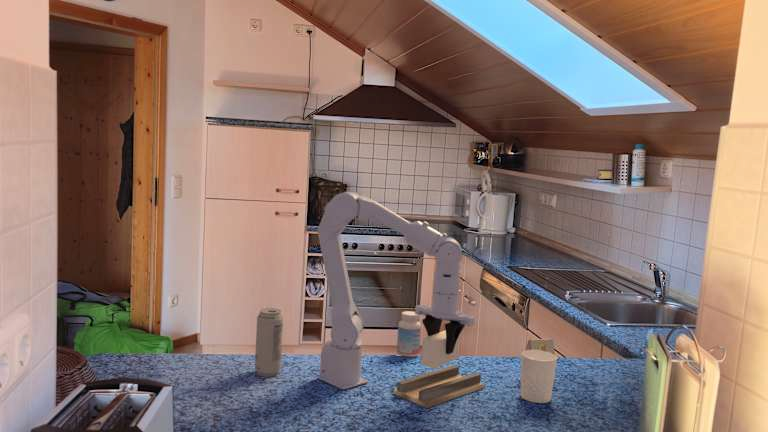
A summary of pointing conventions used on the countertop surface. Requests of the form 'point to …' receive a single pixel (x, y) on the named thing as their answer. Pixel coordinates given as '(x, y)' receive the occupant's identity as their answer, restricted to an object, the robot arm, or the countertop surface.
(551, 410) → the countertop surface
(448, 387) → the sliding track
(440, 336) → the cream rectangular block
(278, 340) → the energy drink can
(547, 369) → the white cup
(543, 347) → the white red printed box
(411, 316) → the pill bottle
